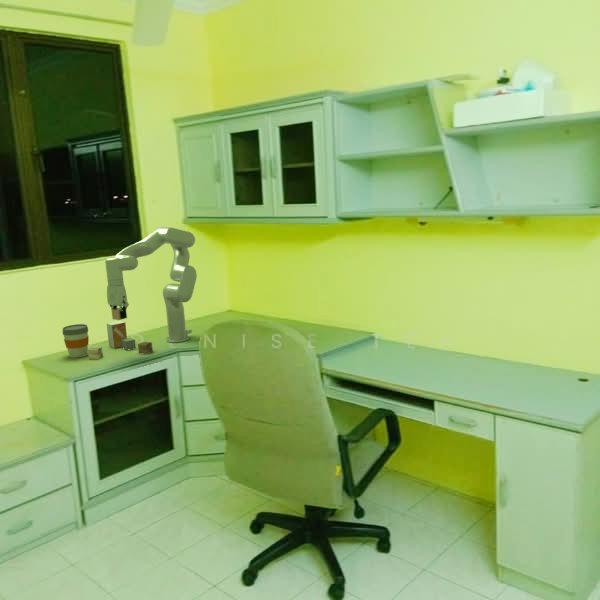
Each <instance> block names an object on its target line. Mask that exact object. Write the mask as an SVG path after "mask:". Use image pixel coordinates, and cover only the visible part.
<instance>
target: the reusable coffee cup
mask: <svg viewBox="0 0 600 600" xmlns="http://www.w3.org/2000/svg"><path fill="white" fill-rule="evenodd" d="M88 332H89V328H88V324H86V323H83V324H82V323H78V324H71V325H66V326H64V327H62V335H63V341H64V344H65V348H66V349H67V352H68V356H69V358H80V356H82V357H85V356H87V355H89V354H88V349H89V348H88V346H89V340H90V339H89V338H90V337H89V335H88Z"/></svg>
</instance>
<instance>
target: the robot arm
mask: <svg viewBox="0 0 600 600" xmlns="http://www.w3.org/2000/svg"><path fill="white" fill-rule="evenodd" d="M195 243H196V237H195V235H194V234H193V233H192V232H191V231H186V230H184V229H179V228H176V227H170V226H169V227H167V226H165V227H163V226H161V227H158V228H156V229H155V230H153V231H152V232H151V233H149V234H148V235H147V236H146V237H144V238H143V239H141V240H139V241H138V242H135V243H134V244H130V245H129V246H127V247H125V248H123V249H122V250H121V251H119V252H118V253H116V255H115V256H112V257H108V258H106V259H105V270H106V279H107V286H106V297H107V304H108V305H109V307H110V308H111V311H112V309H116V308H119V307H120V310H121V311H120V317H121V319H122V320H125V319H127V318H126V312H127V309H128V307H129V306H130V304H129V302H128V298H127V297H128V296H127V290H126V286H125V282H124V274H123V273H124V271H125V272H126V271H133V270H135V269H137V268H138V266H139V260H138V258H142V257H147V256H150V255H152V254H153V253H155V251H157V250H159V248H161V247H162V246H163V245H165V244H169V245H170V246H171V248H172V250H173V260H172V263H171V268H170V271H169V277H170V279H171V280H172V281H174V282H178V283H173V282H172V283H167V284H165V285H164V287H163V289H162V297H163V300H164V304H165V310H166V311H165V312H166V321H167V322H166V323H167V332H168V336H167V338H166V339H165V340H166V342H167V343H173V344H174V343H183V342H186V341H188V340H189V339H190V335H189V334H191V333H192V332H193V330H192V329H186V317H185V307H184V305H183V304H184V303H188V302H190V300H191V298H192V296H193V293H194V289H195V286H196V285H195V284H196V282H197V270H196V268H195V267H194V266H192V265H189V263H190V257H191V255H190V251H189V249H188V248H191V247H194V245H195ZM124 318H125V319H124Z"/></svg>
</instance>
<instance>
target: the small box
mask: <svg viewBox="0 0 600 600" xmlns="http://www.w3.org/2000/svg"><path fill="white" fill-rule="evenodd" d="M106 330H107V339H108V346H110V348H112V347H113V348H112V349H116V347H117V348H120V347H119V346H122V347H123V345H122V340H124V339H128V336H127V327H126V322H125V321H123V320H116V321H113V322H108V323H106Z"/></svg>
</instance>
